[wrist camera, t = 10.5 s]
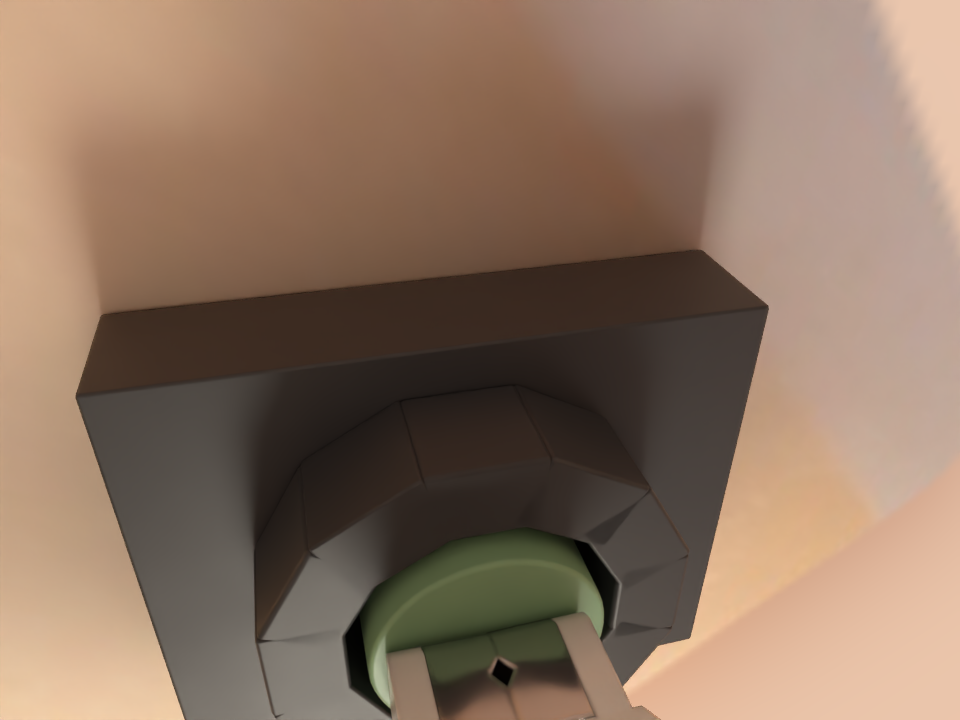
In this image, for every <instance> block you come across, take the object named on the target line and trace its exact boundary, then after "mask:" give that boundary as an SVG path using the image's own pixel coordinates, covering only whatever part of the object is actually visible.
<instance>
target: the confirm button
mask: <svg viewBox="0 0 960 720" xmlns="http://www.w3.org/2000/svg"><path fill="white" fill-rule="evenodd" d="M577 612H585V613H586V614H587V615H588V616H589V617H590V619H591V621H592V623H593V625H594V628H595V630H596V632H597V634H598V636H599V638H600V636H601V633H602V629H603V624H604V608H603V601H602V599H601V596H600V593H599V591H598V589H597V587H596V585H595V583H594V581H593V579H592V577H591V575H590V573H589V571H588V569H587V566H586V564H585V562H584V560H583V558H582V556H581V554H580V552H579V550H578V548H577V546H576V544H575V542H574V540H573V539H570V538H566V537H562V536H558V535H554V534H551V533H547V532H543V531H539V530H535V529H531V528H528V527H524V528H518V529H513V530H507V531H502V532H497V533H491V534H486V535H480V536H475V537H469V538H464V539H459V540H453V541H449V542H448V543H446V544H444V545H443V546H441V547H440V548H438V549H436V550H435V551H433V552H431V553H430V554H428V555H426V556H425V557H423V558H422V559H420V560H418V561H417V562H415V563H413V564H412V565H410V566H408V567H407V568H405V569H404V570H402V571H400V572H399V573H397V574H395V575H394V576H392V577H391V578H389V579H387V580H386V581H384V582H382V583H381V584H379V585H377V586H376V588H375V590H374V591H373V593H372V594H371V596H370V597H369V599H368V600H367V602H366V604H365V605H364V607H363V608H362V610H361V611H360V613H359V615H360V622H361V628H362V635H363V641H364V648H365V654H366V661H367V667H368V673H369V678H370V682H371V684H372V686H373V689H374V691H375V692H376V694H377V695H378V696H379V698H380V699H381V700H382V701H383V703H385V704H386V705H387V706H388V707H389V708H390V709H391V707H390V699H389V688H388V676H387V665H386V654H387V653H391V652H396V651H400V650H405V649H410V648H414V647H419V646H421V647H422V646H425V645H431V644H436V643H441V642H446V641H451V640H456V639H461V638H467V637H472V636H477V635H482V634H486V633H487V632H490V631H495V630H499V629H503V628H507V627H512V626H516V625H520V624H525V623H529V622H533V621H538V620H542V619H546V618H550V619H552V618H556V617H560V616H564V615H569V614H573V613H577Z"/></svg>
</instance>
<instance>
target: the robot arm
mask: <svg viewBox="0 0 960 720" xmlns="http://www.w3.org/2000/svg"><path fill="white" fill-rule="evenodd" d="M386 665H387V676H388V688H389V699H390V707H391V715H392V720H661V719H660V718H658V717H657V716H655V715H654V714H653V713H651V712H650V711H649V710H647V709H646V708H644V707H643V706H638V707H632V706H631V704H630V702H629V699H628V697H627V695H626V693H625V691H624V689H623V687H622V685H621V682H620V680H619V678H618V676H617V674H616V672H615V670H614V668H613V666H612V663H611V661H610V659H609V657H608V655H607V653H606V651H605V649H604V647H603V644H602V642H601V640H600V638H599V636H598V634H597V632H596V630H595V628H594V625H593V623H592V621H591V619H590V617H589V616H588V615H587V614H586V613H585V612H577V613H573V614H569V615H564V616H560V617H556V618H552V619H550V618H546V619H542V620H538V621H533V622H529V623H525V624H520V625H516V626H512V627H507V628H503V629H499V630H495V631H490V632H487V633H486V634H482V635H477V636H472V637H467V638H461V639H456V640H451V641H446V642H441V643H436V644H431V645H425V646H422V647H421V646H419V647H414V648H410V649H405V650H400V651H396V652H391V653H387V654H386Z"/></svg>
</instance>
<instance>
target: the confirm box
mask: <svg viewBox="0 0 960 720" xmlns="http://www.w3.org/2000/svg"><path fill="white" fill-rule="evenodd" d="M768 310H769V307H768V305H767V304H766V303H764V302H763V301H762V300H761V299H760V298H758V297H757V296H756V295H755V294H754V293H752V292H751V291H750V290H749V289H748V288H747V287H745V286H744V285H743V284H742V283H741V282H739V281H738V280H737V279H736V278H735V277H733V276H732V275H731V274H730V273H729V272H727V271H726V270H725V269H724V268H723V267H721V266H720V265H719V264H718V263H717V262H716V261H714V260H713V259H712V258H711V257H710V256H708V255H707V254H706V253H705V252H704V251H702V250H696V251H686V252H677V253H668V254H659V255H650V256H640V257H631V258H622V259H613V260H604V261H594V262H585V263H576V264H567V265H558V266H549V267H539V268H530V269H521V270H512V271H503V272H493V273H484V274H475V275H466V276H457V277H447V278H438V279H429V280H420V281H411V282H401V283H392V284H383V285H374V286H365V287H355V288H346V289H337V290H328V291H319V292H309V293H300V294H291V295H282V296H273V297H263V298H254V299H245V300H236V301H227V302H218V303H208V304H199V305H190V306H181V307H172V308H162V309H153V310H144V311H135V312H126V313H116V314H107V315H102V316H101V317H100V320H99V323H98V326H97V330H96V333H95V336H94V339H93V342H92V345H91V349H90V352H89V355H88V358H87V361H86V364H85V368H84V371H83V374H82V377H81V380H80V383H79V387H78V390H77V393H76V400H77V403H78V406H79V409H80V412H81V415H82V418H83V421H84V424H85V427H86V430H87V433H88V435H89V438H90V441H91V444H92V447H93V450H94V453H95V456H96V459H97V462H98V465H99V468H100V471H101V474H102V477H103V480H104V483H105V486H106V489H107V492H108V494H109V497H110V500H111V503H112V506H113V509H114V512H115V515H116V518H117V521H118V524H119V527H120V530H121V533H122V536H123V539H124V542H125V545H126V548H127V551H128V553H129V556H130V559H131V562H132V565H133V568H134V571H135V574H136V577H137V580H138V583H139V586H140V589H141V592H142V595H143V598H144V601H145V604H146V607H147V610H148V612H149V615H150V618H151V621H152V624H153V627H154V630H155V633H156V636H157V639H158V642H159V645H160V648H161V651H162V654H163V657H164V660H165V663H166V666H167V669H168V671H169V674H170V677H171V680H172V683H173V686H174V689H175V692H176V695H177V698H178V701H179V704H180V707H181V710H182V713H183V716H184V719H185V720H392V715H391V709H390V708H389V707H388V706H387V705H386V704H385V703H383V701H382V700H381V699H380V698H379V696H378V695H377V694H376V692H375V691H374V689H373V686H372V684H371V682H370V678H369V673H368V667H367V661H366V654H365V648H364V641H363V635H362V628H361V622H360V615H359V613H360V611H361V610H362V608H363V607H364V605H365V604H366V602H367V600H368V599H369V597H370V596H371V594H372V593H373V591H374V590H375V588H376V586H377V585H379V584H381V583H382V582H384V581H386V580H387V579H389V578H391V577H392V576H394V575H395V574H397V573H399V572H400V571H402V570H404V569H405V568H407V567H408V566H410V565H412V564H413V563H415V562H417V561H418V560H420V559H422V558H423V557H425V556H426V555H428V554H430V553H431V552H433V551H435V550H436V549H438V548H440V547H441V546H443V545H444V544H446V543H448V542H449V541H453V540H459V539H464V538H469V537H475V536H480V535H486V534H491V533H497V532H502V531H507V530H513V529H518V528H524V527H528V528H531V529H535V530H539V531H543V532H547V533H551V534H554V535H558V536H562V537H566V538H570V539H573V540H574V542H575V544H576V546H577V548H578V550H579V552H580V554H581V556H582V558H583V560H584V562H585V564H586V566H587V569H588V571H589V573H590V575H591V577H592V579H593V581H594V583H595V585H596V587H597V589H598V591H599V593H600V596H601V599H602V601H603V608H604V624H603V629H602V633H601V636H600V640H601V642H602V644H603V647H604V649H605V651H606V653H607V655H608V657H609V659H610V661H611V663H612V666H613V668H614V670H615V672H616V674H617V676H618V678H619V680H620V682H621V685H622V687H623V685H624V684H625V683H626V682H627V681H628V680H629V678H630V677H631V676H632V675H633V674H634V673H635V672H636V670H637V669H638V668H639V667H640V666H641V665H642V664H643V662H644V661H645V660H646V659H647V658H648V657H649V655H650V654H651V653H652V652H653V651H654V650H655V649H656V647H657V646H659V645H663V644H668V643H672V642H676V641H681V640H685V639H689V638H690V636H691V632H692V628H693V624H694V620H695V616H696V611H697V607H698V603H699V599H700V595H701V590H702V586H703V582H704V578H705V574H706V570H707V565H708V561H709V557H710V553H711V549H712V544H713V540H714V536H715V532H716V528H717V524H718V519H719V515H720V511H721V507H722V503H723V498H724V494H725V490H726V486H727V482H728V478H729V473H730V469H731V465H732V461H733V457H734V452H735V448H736V444H737V440H738V436H739V432H740V427H741V423H742V419H743V415H744V411H745V406H746V402H747V398H748V394H749V390H750V386H751V381H752V377H753V373H754V369H755V365H756V360H757V356H758V352H759V348H760V344H761V340H762V335H763V331H764V327H765V323H766V319H767V314H768Z"/></svg>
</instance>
